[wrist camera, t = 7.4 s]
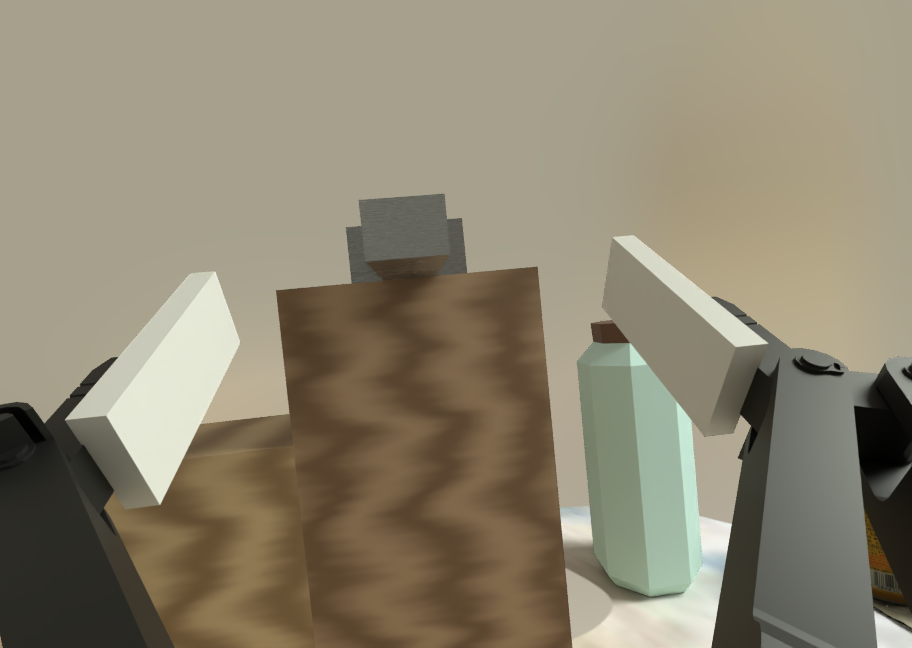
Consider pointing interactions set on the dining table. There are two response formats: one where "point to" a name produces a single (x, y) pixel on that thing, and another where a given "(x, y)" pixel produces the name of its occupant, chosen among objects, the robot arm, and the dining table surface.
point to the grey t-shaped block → (405, 240)
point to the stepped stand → (374, 483)
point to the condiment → (884, 580)
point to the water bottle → (637, 469)
